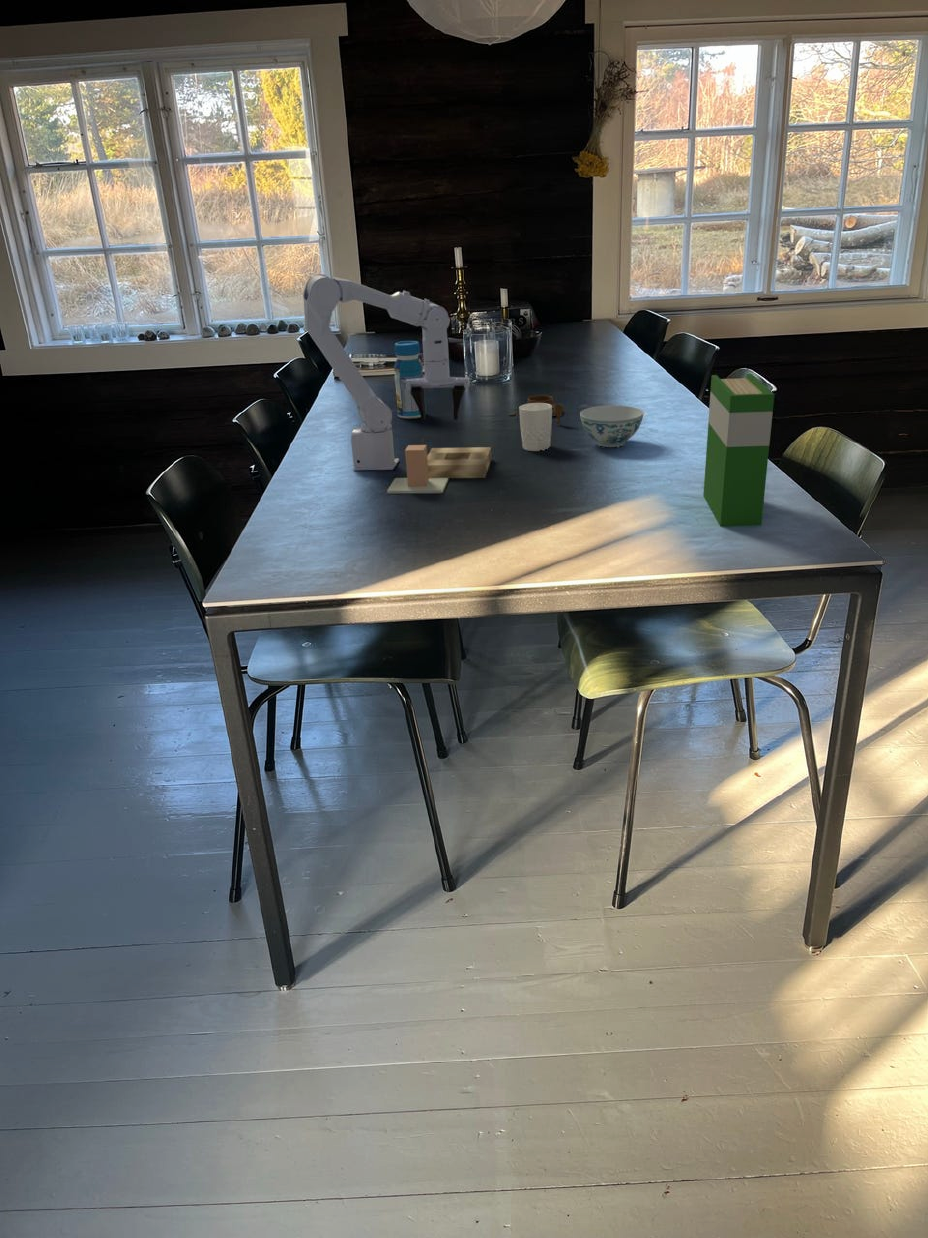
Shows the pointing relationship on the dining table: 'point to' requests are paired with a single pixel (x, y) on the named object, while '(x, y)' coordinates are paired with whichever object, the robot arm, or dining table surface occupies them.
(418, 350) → the beverage bottle
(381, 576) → the dining table surface
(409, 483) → the terracotta block
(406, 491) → the mat
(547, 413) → the white cup
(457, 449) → the pocket block
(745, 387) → the hardback book
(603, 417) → the chinaware
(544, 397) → the place setting
